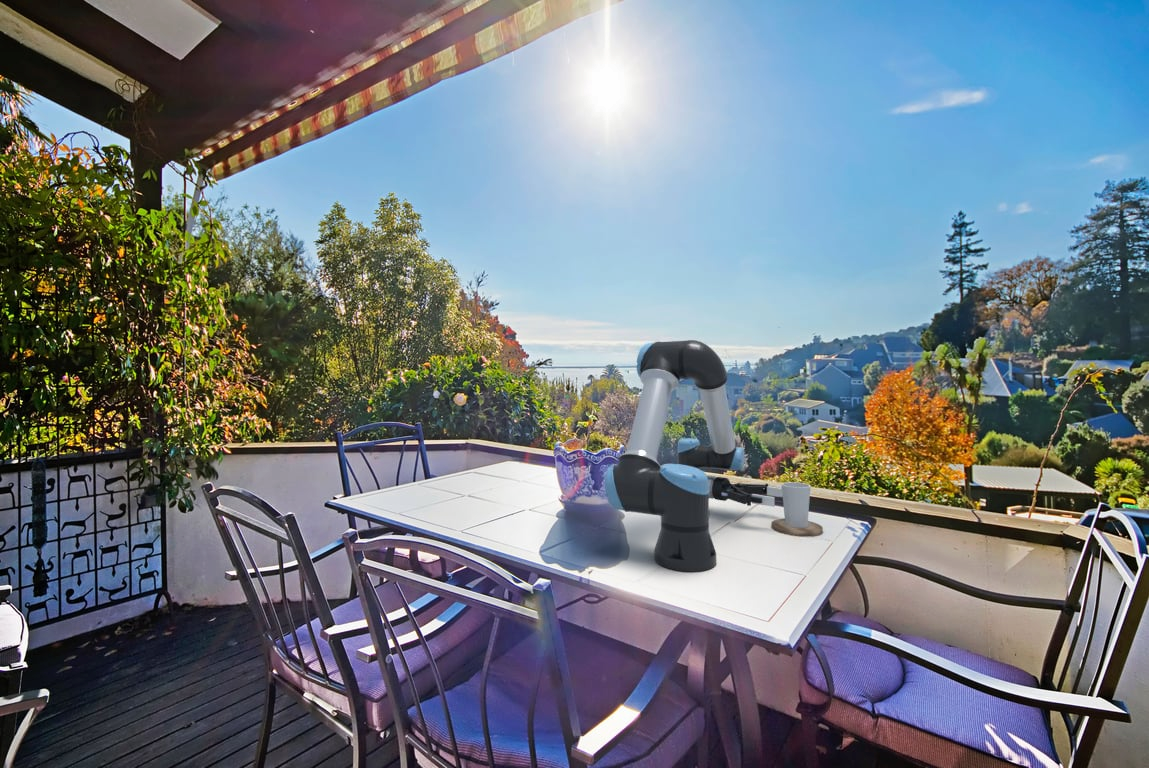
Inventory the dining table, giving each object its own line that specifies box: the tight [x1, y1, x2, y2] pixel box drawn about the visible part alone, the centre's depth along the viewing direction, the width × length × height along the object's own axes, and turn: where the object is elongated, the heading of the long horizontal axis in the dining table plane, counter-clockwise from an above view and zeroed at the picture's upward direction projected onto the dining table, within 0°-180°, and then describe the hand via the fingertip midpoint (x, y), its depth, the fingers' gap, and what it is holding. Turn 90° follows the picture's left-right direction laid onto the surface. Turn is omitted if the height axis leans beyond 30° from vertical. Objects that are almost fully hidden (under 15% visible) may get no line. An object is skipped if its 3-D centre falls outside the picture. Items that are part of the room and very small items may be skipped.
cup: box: [781, 481, 812, 528], centre depth 146 cm, size 8×8×12 cm
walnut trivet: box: [771, 518, 824, 537], centre depth 146 cm, size 14×14×1 cm
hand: (781, 497), depth 149 cm, fingers open, 13 cm apart
